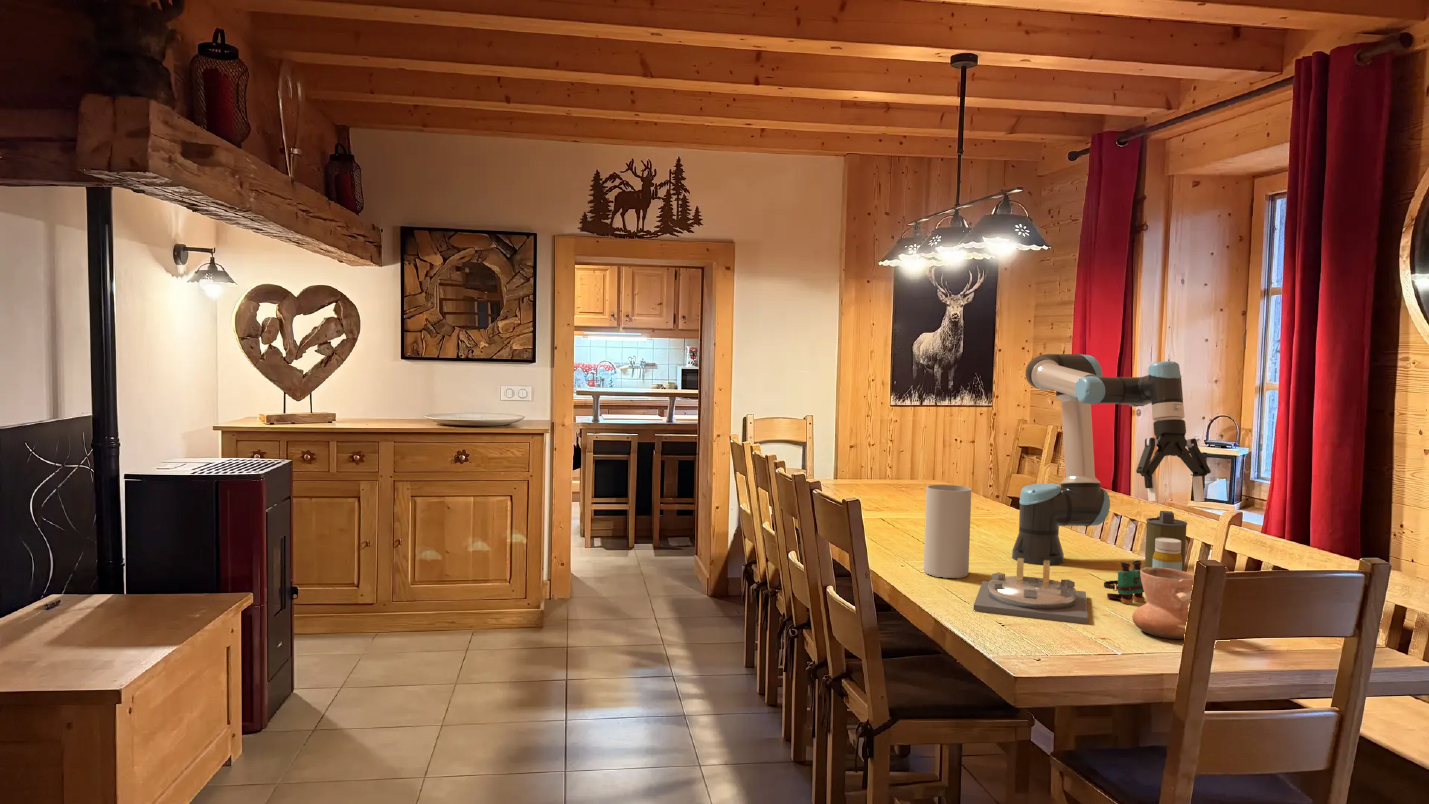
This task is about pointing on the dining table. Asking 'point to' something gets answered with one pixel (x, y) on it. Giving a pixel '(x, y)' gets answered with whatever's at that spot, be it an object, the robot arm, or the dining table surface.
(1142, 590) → the binoculars
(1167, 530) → the canister
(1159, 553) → the bottle
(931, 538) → the cylinder vase
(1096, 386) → the robot arm
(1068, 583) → the oval turntable platform
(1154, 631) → the ceramic jug
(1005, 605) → the base board
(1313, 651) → the dining table surface
